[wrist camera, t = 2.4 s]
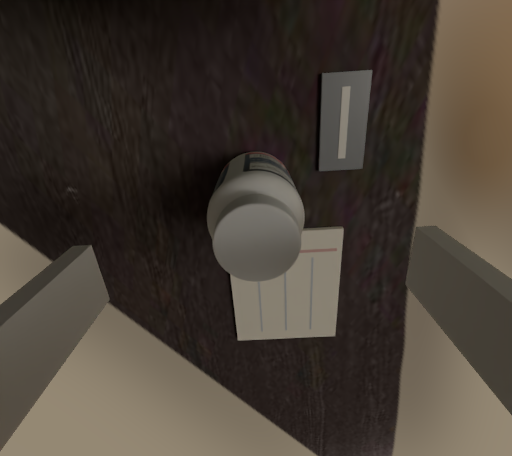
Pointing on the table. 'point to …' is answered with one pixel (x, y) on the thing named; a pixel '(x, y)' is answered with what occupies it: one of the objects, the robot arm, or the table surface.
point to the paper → (294, 293)
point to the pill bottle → (255, 218)
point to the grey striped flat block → (343, 119)
